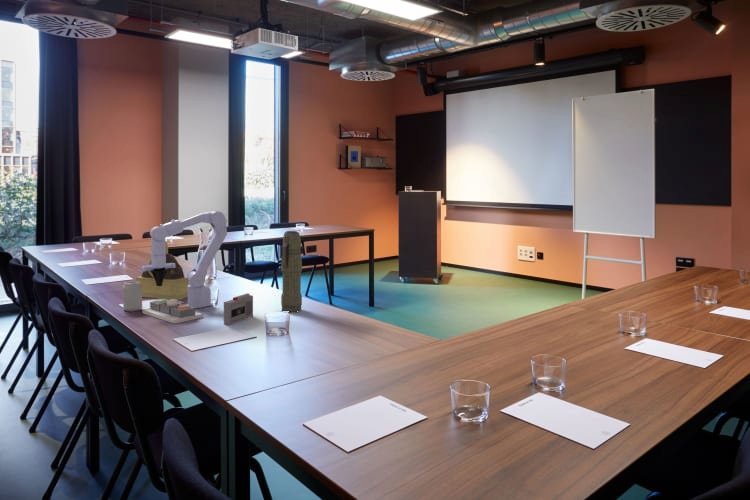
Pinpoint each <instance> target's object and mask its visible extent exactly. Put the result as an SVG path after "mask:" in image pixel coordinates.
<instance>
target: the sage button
mask: <svg viewBox="0 0 750 500" xmlns="http://www.w3.org/2000/svg"><path fill="white" fill-rule="evenodd" d="M167 300H168V299H159V298H158V299H157V300H156V301H157V303H159V304H160V303H166V302H167Z"/></svg>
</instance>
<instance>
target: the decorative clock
mask: <svg viewBox="0 0 750 500" xmlns="http://www.w3.org/2000/svg"><path fill="white" fill-rule="evenodd" d="M165 249H166V263H175V268H166V269H167V273H166V275H165V277H164V279H163V283H162V286H157V285H156V282H155V279H154V276H153V275H152V273H151V270H149V271H142V274H141V275H140V276H137V277H136V278H135V279H136V280H135V281H137V282H140V284H141V285H142V298H151V299H159V298H160V299H166V300H168V299H177V301H180V300H183V299H185V298H188V285H189V282H188V280H187V276H185V273H184V271H183V270H184V269H183V267H182V266H181V265H180V264H179V262H178V260H177V259H176V257H175V256H174V255H173V254H171V253H169V245H168V242H167V241H166V240H165ZM148 265H152V261H151V260H149V262H148Z"/></svg>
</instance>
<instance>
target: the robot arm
mask: <svg viewBox="0 0 750 500" xmlns="http://www.w3.org/2000/svg"><path fill="white" fill-rule="evenodd" d="M227 222H228V220H227V218H226V216H225V214H224V213H223V212H221V211H219V210H214V209H211V210H210V211H205V212H201V213H198V214H197V215H194V216H191V217H188V218H186V219H183V220H178V219H176V220H175V219H170V222H166V223H164V224H163V223H161V224H159V226H154V227H152V228H151V229H150V231H149V235H150V238H151V239H150V240H151V244H150V251H151V252H150V253H151V256H150V257H151V260H150V261H152V265H142V266H141V268H140V269H141V271H142V272H143V271H149V270H151V273H152V275H153V276H154V279H155V282H156V285H157V286H162V283H163V279H164V277H165V275H166V273H167V269H166V268H175V263H166V249H165V241H166V238H170V237H172V236H175V235H177V234H180V233H182V232H183V231H184V229H185V228H188V227H191V226H194V225H197V224H201V223H204V224H210V226H211V228H212V230H213V235H212V236H211V239H210V240H209V242H208V244H207V245H206V248H205V250H204V251H203V254H202V255H201V257H200V258H199V259H198V262H197V263H196V265H195V266H194V267H193V268H192V270H191V271H189V272H188V274H187V275H186V277H187V280H188V282H189V285H188V297H187V304H185V305H187V306H190V307H194V308H195V309H200V308H204V307H210V306H213V304H212V298H211V295H212V291H211V288H210V286H208V285H205V282H206V277H207V274H208V271H209V268H210V266H211V264H212V262H213V261H214V259H215V257H216V255H217V253H218V252H219V249H220V248H221V246H222V244H223V242H224V240H225V239H226V236H227V234H228V229H227Z"/></svg>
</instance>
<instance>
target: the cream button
mask: <svg viewBox="0 0 750 500" xmlns="http://www.w3.org/2000/svg"><path fill="white" fill-rule="evenodd" d="M166 300H167V306H169V307H171V306H177V303H178V300H177V299H169V300H168V299H166Z"/></svg>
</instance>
